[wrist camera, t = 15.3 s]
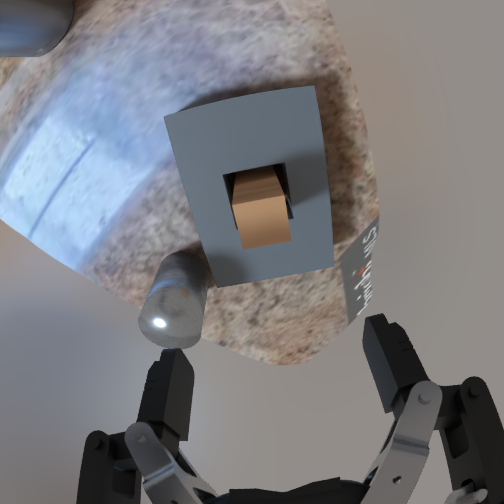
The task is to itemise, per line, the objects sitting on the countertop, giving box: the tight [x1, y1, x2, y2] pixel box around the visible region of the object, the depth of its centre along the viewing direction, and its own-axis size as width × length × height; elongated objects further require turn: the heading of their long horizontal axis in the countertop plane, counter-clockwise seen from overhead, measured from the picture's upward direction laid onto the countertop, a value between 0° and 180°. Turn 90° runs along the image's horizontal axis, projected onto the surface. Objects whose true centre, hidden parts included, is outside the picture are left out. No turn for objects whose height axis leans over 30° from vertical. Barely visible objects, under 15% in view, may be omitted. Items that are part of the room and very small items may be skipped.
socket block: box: [164, 86, 334, 288], centre depth 28 cm, size 20×14×4 cm
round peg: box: [138, 253, 210, 349], centre depth 32 cm, size 7×7×10 cm
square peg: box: [232, 165, 291, 250], centre depth 26 cm, size 4×4×10 cm
